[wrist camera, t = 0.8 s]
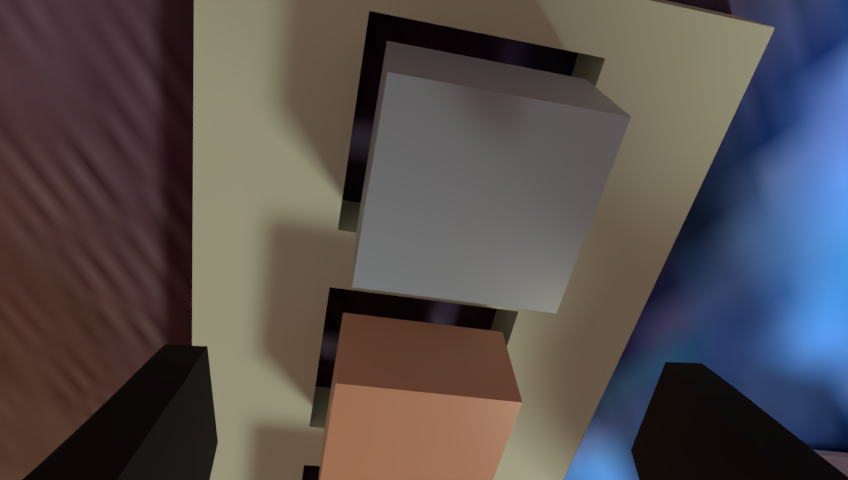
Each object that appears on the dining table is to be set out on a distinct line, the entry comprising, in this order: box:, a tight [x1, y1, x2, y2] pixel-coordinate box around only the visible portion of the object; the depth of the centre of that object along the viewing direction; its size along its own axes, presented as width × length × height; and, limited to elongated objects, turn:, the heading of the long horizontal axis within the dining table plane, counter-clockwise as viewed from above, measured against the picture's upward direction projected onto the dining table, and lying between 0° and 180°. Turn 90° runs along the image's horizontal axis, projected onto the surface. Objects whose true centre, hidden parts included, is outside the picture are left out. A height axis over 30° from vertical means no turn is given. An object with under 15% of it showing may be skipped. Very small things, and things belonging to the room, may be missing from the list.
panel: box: [192, 0, 775, 480], centre depth 20 cm, size 14×25×2 cm, turn 169°
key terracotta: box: [318, 313, 522, 480], centre depth 18 cm, size 5×5×3 cm
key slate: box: [352, 41, 631, 313], centre depth 14 cm, size 5×5×3 cm
